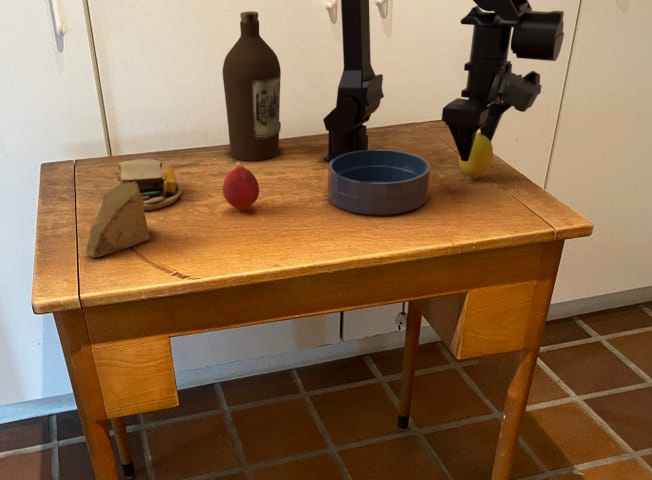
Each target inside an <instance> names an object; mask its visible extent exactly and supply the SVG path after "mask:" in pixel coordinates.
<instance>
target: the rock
mask: <svg viewBox="0 0 652 480" xmlns="http://www.w3.org/2000/svg"><path fill="white" fill-rule="evenodd" d="M116 186H117V187H116ZM116 186H114V187H115V188H114V187H113V188H114V189H113V188H111V190H109V191H108V192H107V193H105V194H103V196H102V202H101V206H100V208H99V209H98V213H97V215H96V220H95V221H94V222H93V224H92V225H91V227H90V230H89V237H88V241H87V244H86V253H87V254H88V255H89V257H91V258H93V259H95V258H100V257H103V256H104V255H108V254H112V253H115V252H117V251H120V250H123V249H124V250H125V249H128V248H131V247H133V246H135V245H138V244H140V243H143V242H146V241H149V240H150V232H149V228H148V222H147V219H146V214H145V210H144V203H143V199H142V196H141V194H140V191H139V187H138V184H137V182H136V181H134V182H132V183H130V182H126V183H122V184H120V183H119V184H118V185H116Z"/></svg>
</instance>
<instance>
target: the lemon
mask: <svg viewBox="0 0 652 480" xmlns="http://www.w3.org/2000/svg"><path fill="white" fill-rule="evenodd" d="M493 148H494V147H493V144H492V141H490V140H489V139H488V138H487V137H486V136H484V135H482V134H481V132H477V133H476V136H475V140H474V144H473V147H472V151H471V154H470V158H469V160H468V161H467V162H465V161H462V160H461V158H460V155H459V154H458V165H459V168H460V170H461V171H462V173H463V174H465V175H466V176H468V177H469V178H470V179H471V180H475V179H476V178H478V177H481V176H482V175H484V174H485V173H487V171H488V170H489V169H490V167H491V166H492V163H493V158H494V149H493Z"/></svg>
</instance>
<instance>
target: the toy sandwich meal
mask: <svg viewBox="0 0 652 480" xmlns="http://www.w3.org/2000/svg"><path fill="white" fill-rule="evenodd" d="M162 167H163V162H162V161H161V160H159V159H153V158H140V159H139V158H138V159H130V160H125V161H121V162H119V163H118V169H119V171H120V173H117V177H116V179H117V181H118V182H119V185H120V184H122V183H126V182H130V183H132V182H134V181H136V182H137V184H138V187H139V191H140V194H141V196H142V199H143V203H144V211H151V210H157V209H161V208H164V207H167V206H169V205H171V204H173V203H175V202H176V201H177V200H178V198H179V197H181V195H182V193H183V187H182V185H181V184H180V183H178V182H177V181H176V174H175V171H174V168H173V167H168V168H167V170H166V172H165V175H164V178H163V174H162ZM117 186H118V185H116V186H114V187H112V189H114V188H115V187H117Z"/></svg>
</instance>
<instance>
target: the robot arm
mask: <svg viewBox="0 0 652 480" xmlns="http://www.w3.org/2000/svg"><path fill="white" fill-rule="evenodd" d="M472 1H473V2H474V3H475V4H476V5H475V6H473V7H472V8H471V10H470V11H469V12H468V13H467V14H466V15H465V16H464V17H463V18H461V19H460V22H459V23H460V24H461V25H465V26H467V25H469V26H473V27H472V37H471V46H470V53H469V60H468V61H467V62H465V63H464V68H463V70H464V71H466V72H467V78H466V86H465V88H464V89H461V92H460V97H461V98H460V97H457V98H455V99H454V100H451V101H450V102H448V103H447V104H446V105H445V106H444V107H442V110H441V111H442V113H441V121H442V122H443V123H445V125H446V126H447V127H448V130H449V132H450V133H451V136H452V139H453V141H454V144H455V146H456V149H457V152H458V156H459V155H460V158H461V160H462V161H465V162H467V161H468V160H469V158H470V154H471V151H472V147H473V144H474V140H475V136H476V133H478V131H479V133H481V134H482V135H484V136H486V137H487V138H488V139H489V140H490V141H491V142H492V141H493V138H494V136H495V134H496V131H497V129H498V126H499V124H500V121H501V119H502V118H503V115H504V113H505V112H507V111H508V110H509V109H510V108H514V110H516V111H519V112H520V113H525V112H526V111H527V110H528V109H530V108H532V107H533V106H534V105H533V104H535V101H536V99H537V98H538V96H539V95H540V94H541V93H542V86H543V84H541V73H539V72H536V71H535V70H532V71H529V72H528V73H527V74H526V75H522V74H521V73H520V74H516V73H514V72H512V71H513V63H511V62H512V61H511V60H508V56H509V50H511V51H512V54H515V56H516V58H517V59H524V60H536V61H547V62H548V61H549V62H557V59H558V58H559V55H560V53H561V49H562V45H563V42H564V37H565V32H564V26H565V25H564V15H565V12H564V11H563V10H553V11H552V10H551V11H542V10H541V11H540V10H533V8H532V6H531V4H530V2H529V0H472ZM340 9H341V10H340V11H341V33H342V35H341V36H342V57H343V60H342V61H343V70H342V73H341V77H340V79H339V83H338V86H337V92H336V93H337V94H336V102H335V103H336V104H335V106H334V108H333V109H332V110H331V111H330V112H329V113H328V114H327V115H326V116H325V117H324V118H323V119H322V121H323V124H324V128H325V130H326V131H328V139H327V141H328V147H327V148H328V149H327V155H326V156H324V157H323V162H328V163H330V161H331V160H332V159H334V158H336V157H337V156H339V155H342V154H345V153H349V152H354V151H359V150H369V135H368V134H367V127H368V126H367V125H364V124H365V123H367V122H369V121H370V119H371V116H372V114H374V113H375V112H376V111H377V110H378V109H379V108H380V105H381V102H382V101H381V100H382V99H383V98H384V97H385V94H384V92H383V82H384V81H383V80H384V75H383V74H382V73H379V74H376V73H375V71H374V69H373V66H372V62H371V24H370V23H371V22H370V20H371V19H370V16H371V15H370V0H340Z"/></svg>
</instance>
